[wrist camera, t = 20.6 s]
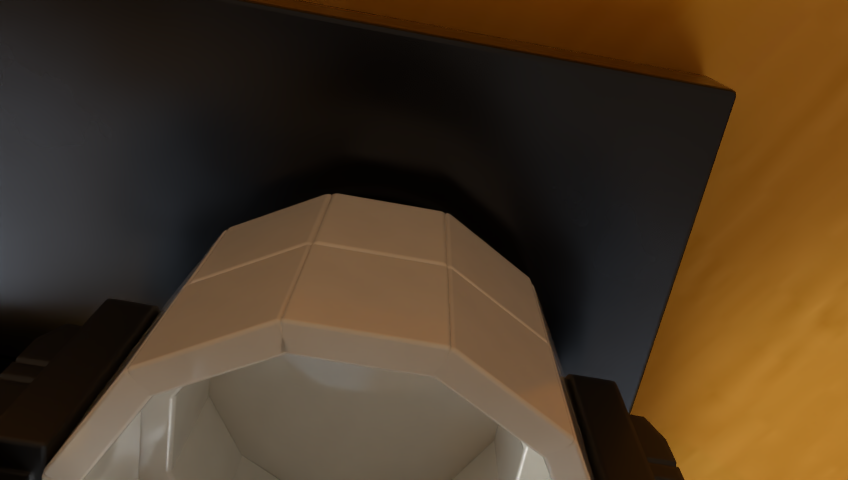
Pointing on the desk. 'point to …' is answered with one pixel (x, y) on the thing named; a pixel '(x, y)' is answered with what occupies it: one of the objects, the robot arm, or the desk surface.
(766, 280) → the desk surface
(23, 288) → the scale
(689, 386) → the desk surface
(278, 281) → the bowl
